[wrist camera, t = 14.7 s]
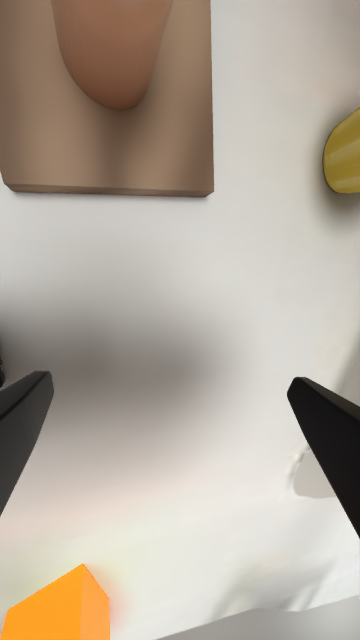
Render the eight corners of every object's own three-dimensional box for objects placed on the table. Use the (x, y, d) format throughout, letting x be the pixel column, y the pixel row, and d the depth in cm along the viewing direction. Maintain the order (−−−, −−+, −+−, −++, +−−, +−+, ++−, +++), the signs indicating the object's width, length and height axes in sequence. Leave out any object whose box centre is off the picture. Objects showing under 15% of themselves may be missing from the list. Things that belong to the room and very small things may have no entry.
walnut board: (13, 191, 13) (3, 183, 12) (-83, -163, 9) (-114, -235, 8) (205, 196, 18) (214, 191, 17) (198, -39, 14) (208, -71, 12)
